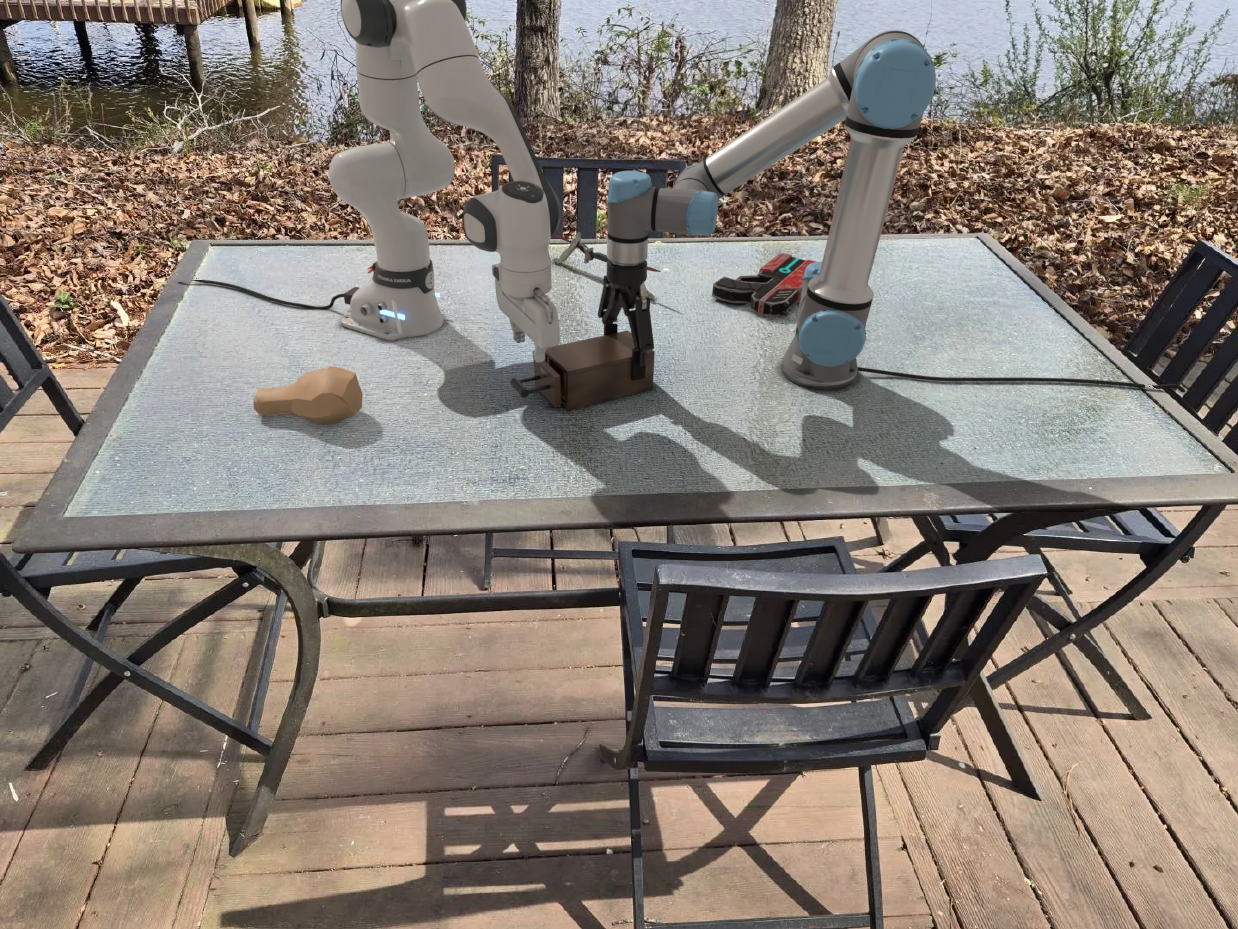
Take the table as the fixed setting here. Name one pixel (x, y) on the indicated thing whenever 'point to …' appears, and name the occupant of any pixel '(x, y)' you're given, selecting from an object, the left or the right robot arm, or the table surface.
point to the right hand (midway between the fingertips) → (623, 366)
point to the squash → (314, 397)
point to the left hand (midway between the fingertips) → (528, 350)
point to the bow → (591, 258)
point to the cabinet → (600, 369)
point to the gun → (766, 286)
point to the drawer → (544, 382)
